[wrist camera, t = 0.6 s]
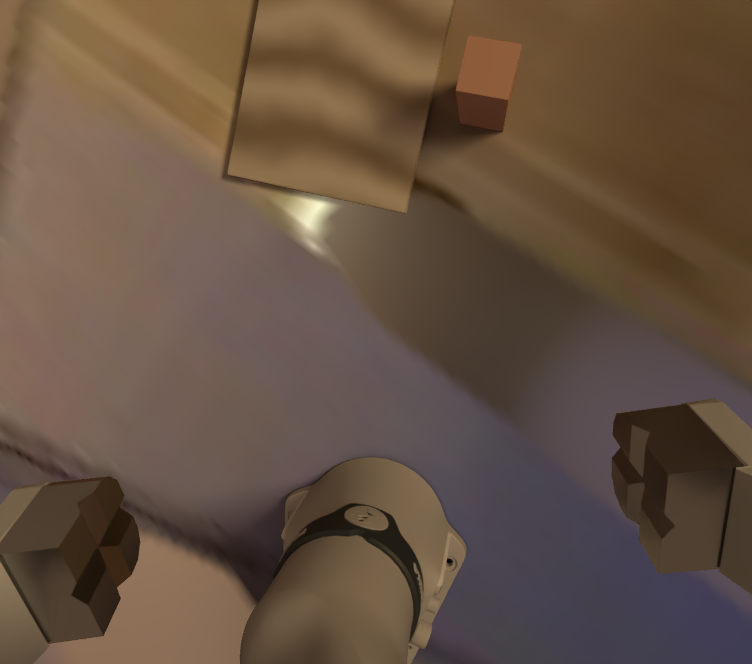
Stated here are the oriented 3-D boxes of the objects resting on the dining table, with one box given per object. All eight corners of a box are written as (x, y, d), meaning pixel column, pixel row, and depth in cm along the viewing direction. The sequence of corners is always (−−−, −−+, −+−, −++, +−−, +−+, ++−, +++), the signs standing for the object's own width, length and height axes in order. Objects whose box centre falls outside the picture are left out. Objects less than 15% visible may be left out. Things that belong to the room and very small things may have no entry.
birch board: (406, 213, 55) (404, 212, 54) (231, 175, 57) (227, 174, 56) (461, -30, 52) (461, -36, 51) (274, -59, 54) (270, -65, 53)
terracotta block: (502, 131, 53) (508, 100, 43) (459, 123, 53) (455, 90, 43) (513, 87, 52) (522, 44, 42) (470, 79, 53) (468, 35, 43)
